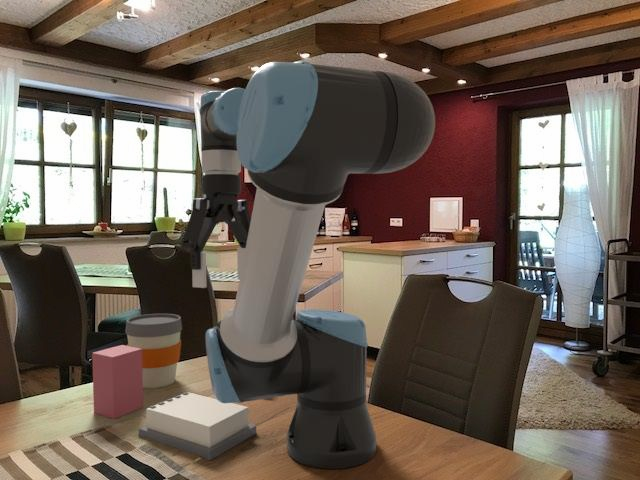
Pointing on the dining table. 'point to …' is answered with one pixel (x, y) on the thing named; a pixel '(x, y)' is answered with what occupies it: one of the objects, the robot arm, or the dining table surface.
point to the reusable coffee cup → (156, 346)
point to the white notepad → (198, 424)
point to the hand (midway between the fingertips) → (223, 283)
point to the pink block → (117, 381)
